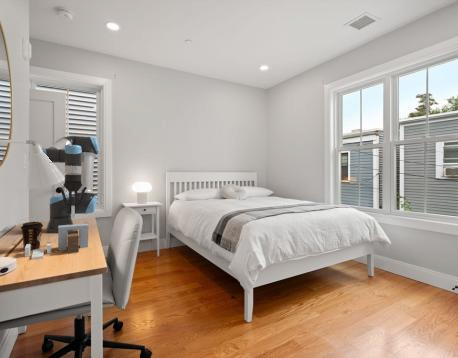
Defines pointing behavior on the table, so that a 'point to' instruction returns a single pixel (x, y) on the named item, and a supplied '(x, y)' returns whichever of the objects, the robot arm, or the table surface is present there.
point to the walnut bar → (73, 242)
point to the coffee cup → (32, 234)
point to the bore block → (63, 229)
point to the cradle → (37, 251)
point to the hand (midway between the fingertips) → (72, 217)
